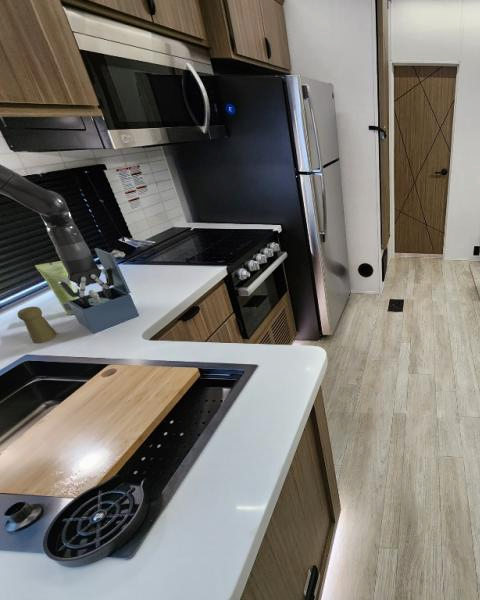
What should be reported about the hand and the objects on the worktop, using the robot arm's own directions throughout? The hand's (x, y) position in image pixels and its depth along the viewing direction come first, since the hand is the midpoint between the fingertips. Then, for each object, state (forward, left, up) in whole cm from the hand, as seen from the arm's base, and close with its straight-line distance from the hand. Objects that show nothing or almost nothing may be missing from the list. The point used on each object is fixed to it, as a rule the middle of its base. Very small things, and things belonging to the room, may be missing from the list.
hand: (98, 301), depth 114 cm
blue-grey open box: (+1, 0, -8) cm, 8 cm away
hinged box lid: (+7, 0, +9) cm, 11 cm away
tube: (-3, +18, -8) cm, 20 cm away
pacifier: (+1, 0, -2) cm, 2 cm away
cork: (-16, +5, -8) cm, 18 cm away
